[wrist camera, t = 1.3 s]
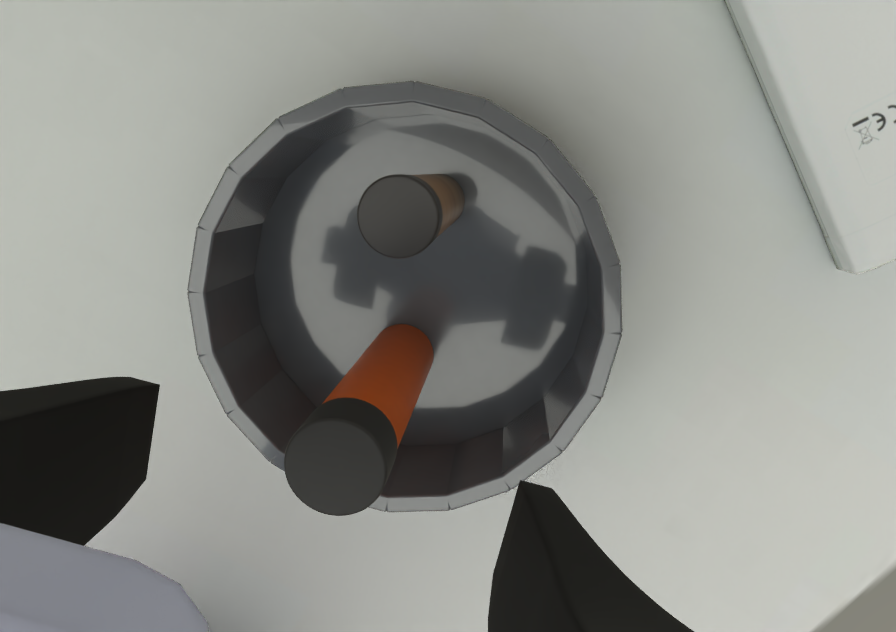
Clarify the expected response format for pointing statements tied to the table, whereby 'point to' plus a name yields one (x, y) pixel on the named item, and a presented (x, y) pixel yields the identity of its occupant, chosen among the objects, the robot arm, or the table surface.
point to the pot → (410, 286)
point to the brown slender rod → (408, 212)
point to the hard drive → (833, 112)
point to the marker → (360, 425)
